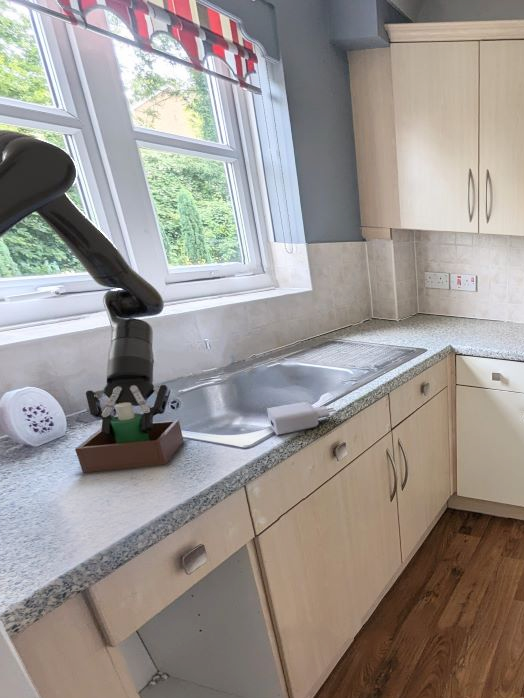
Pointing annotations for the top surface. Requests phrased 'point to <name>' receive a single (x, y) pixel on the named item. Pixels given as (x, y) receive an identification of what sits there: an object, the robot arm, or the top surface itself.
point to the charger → (295, 417)
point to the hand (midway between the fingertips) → (127, 433)
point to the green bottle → (127, 425)
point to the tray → (130, 449)
